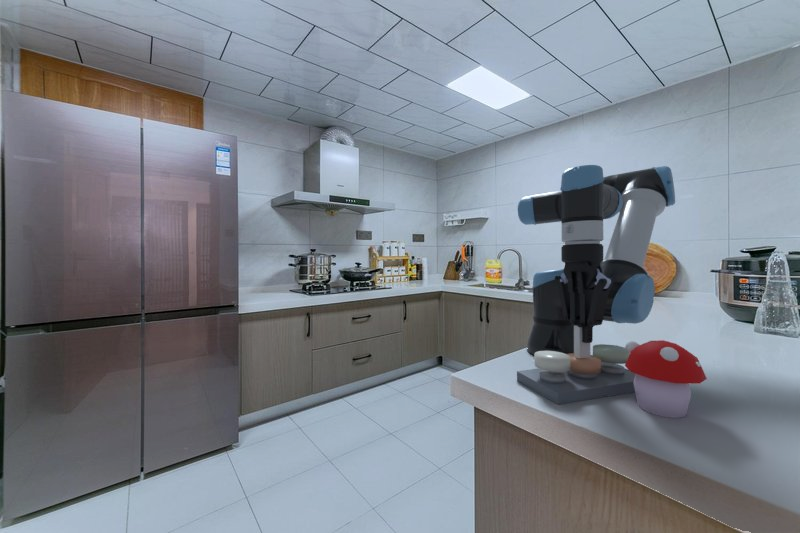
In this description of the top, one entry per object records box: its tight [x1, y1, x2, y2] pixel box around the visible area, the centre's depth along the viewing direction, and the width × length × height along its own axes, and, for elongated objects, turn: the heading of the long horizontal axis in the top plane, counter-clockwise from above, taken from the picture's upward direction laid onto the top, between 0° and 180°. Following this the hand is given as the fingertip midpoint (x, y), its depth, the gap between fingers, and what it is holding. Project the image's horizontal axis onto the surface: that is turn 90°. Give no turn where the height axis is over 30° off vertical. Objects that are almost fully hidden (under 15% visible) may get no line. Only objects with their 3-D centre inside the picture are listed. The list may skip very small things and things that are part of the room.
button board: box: [516, 361, 636, 405], centre depth 66 cm, size 12×23×3 cm, turn 105°
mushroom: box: [624, 339, 707, 419], centre depth 55 cm, size 11×11×12 cm
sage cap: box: [592, 343, 630, 365], centre depth 68 cm, size 7×7×2 cm
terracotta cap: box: [567, 353, 601, 374], centre depth 66 cm, size 7×7×2 cm
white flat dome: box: [533, 351, 571, 372], centre depth 64 cm, size 7×7×2 cm
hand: (582, 356), depth 66 cm, fingers closed
